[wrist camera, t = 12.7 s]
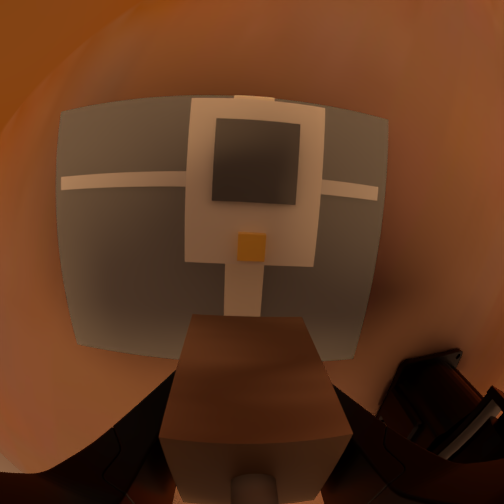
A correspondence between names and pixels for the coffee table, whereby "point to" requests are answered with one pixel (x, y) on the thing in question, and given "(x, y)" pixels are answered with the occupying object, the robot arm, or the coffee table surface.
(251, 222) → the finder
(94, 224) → the board
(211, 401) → the wooden knobbed box
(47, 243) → the coffee table surface
